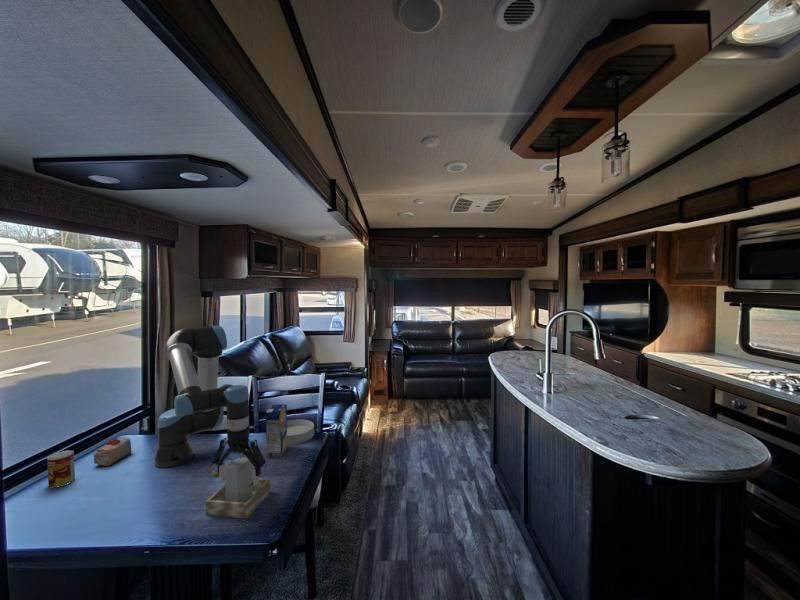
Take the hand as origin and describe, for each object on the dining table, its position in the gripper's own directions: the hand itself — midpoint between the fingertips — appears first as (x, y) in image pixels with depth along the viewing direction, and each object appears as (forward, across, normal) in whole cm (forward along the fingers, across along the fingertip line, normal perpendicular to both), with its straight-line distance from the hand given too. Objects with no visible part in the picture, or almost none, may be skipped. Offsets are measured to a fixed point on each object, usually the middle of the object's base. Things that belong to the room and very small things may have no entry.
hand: (239, 482), depth 129 cm
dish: (+8, -5, +58) cm, 59 cm away
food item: (+8, -79, +22) cm, 82 cm away
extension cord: (+8, -23, +22) cm, 33 cm away
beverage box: (+8, -5, +39) cm, 40 cm away
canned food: (+8, -82, +3) cm, 82 cm away
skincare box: (+7, 0, 0) cm, 7 cm away
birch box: (+8, 0, 0) cm, 8 cm away
